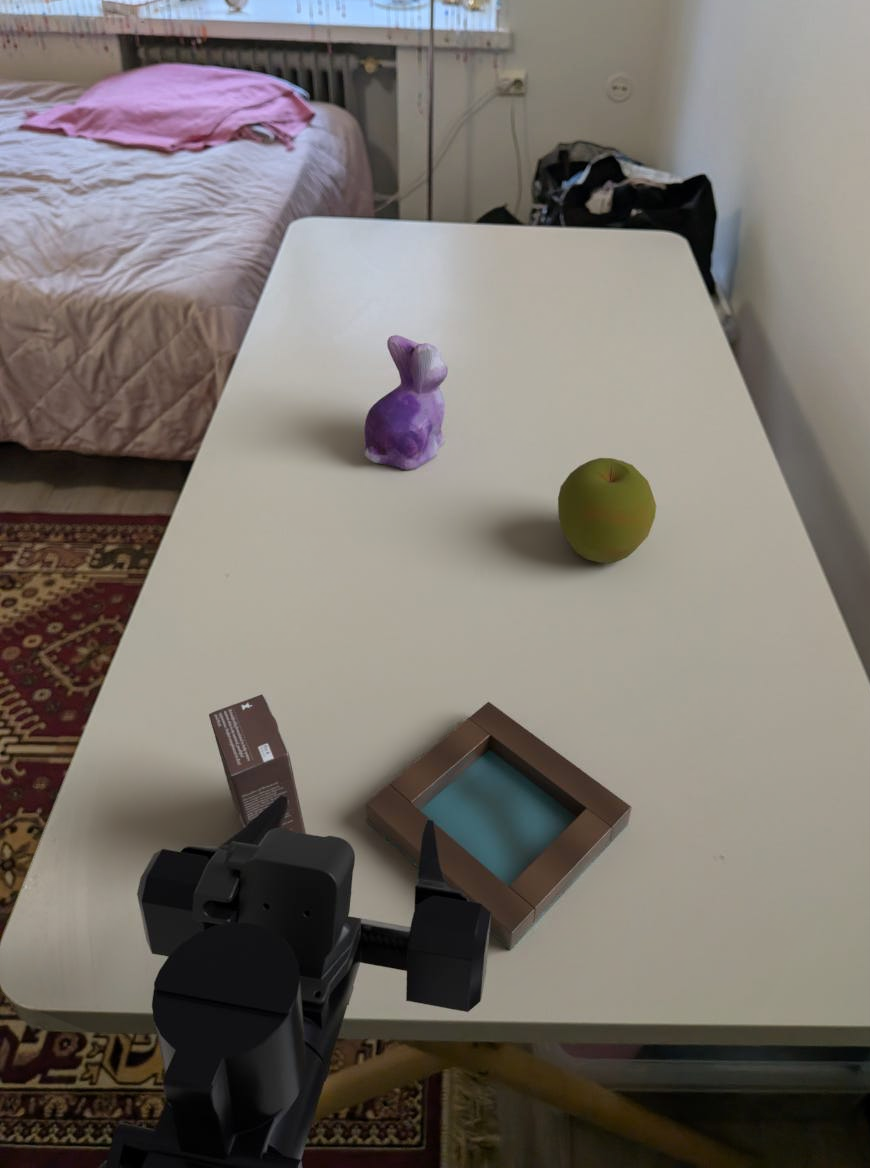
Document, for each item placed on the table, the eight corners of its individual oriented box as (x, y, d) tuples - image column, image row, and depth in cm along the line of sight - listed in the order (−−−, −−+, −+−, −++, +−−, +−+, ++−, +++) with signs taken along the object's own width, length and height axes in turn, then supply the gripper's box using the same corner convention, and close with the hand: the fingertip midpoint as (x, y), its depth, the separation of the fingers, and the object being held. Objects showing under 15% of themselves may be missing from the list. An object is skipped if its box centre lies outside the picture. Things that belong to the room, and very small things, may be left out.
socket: (510, 951, 67) (511, 934, 66) (366, 821, 75) (365, 803, 73) (628, 824, 75) (632, 806, 74) (487, 719, 83) (488, 701, 81)
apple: (536, 533, 102) (543, 448, 95) (612, 508, 106) (624, 425, 99) (587, 591, 96) (599, 505, 89) (666, 562, 99) (683, 477, 92)
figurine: (448, 423, 118) (448, 313, 108) (445, 473, 110) (445, 358, 100) (371, 421, 118) (365, 310, 108) (363, 471, 110) (355, 356, 100)
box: (230, 809, 75) (206, 710, 68) (285, 788, 77) (268, 689, 69) (252, 872, 71) (229, 775, 64) (310, 849, 73) (294, 751, 65)
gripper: (469, 992, 40) (516, 737, 54) (54, 916, 42) (198, 689, 56) (458, 1132, 46) (504, 870, 59) (94, 1059, 48) (216, 822, 61)
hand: (356, 812), depth 59 cm, fingers open, 9 cm apart
